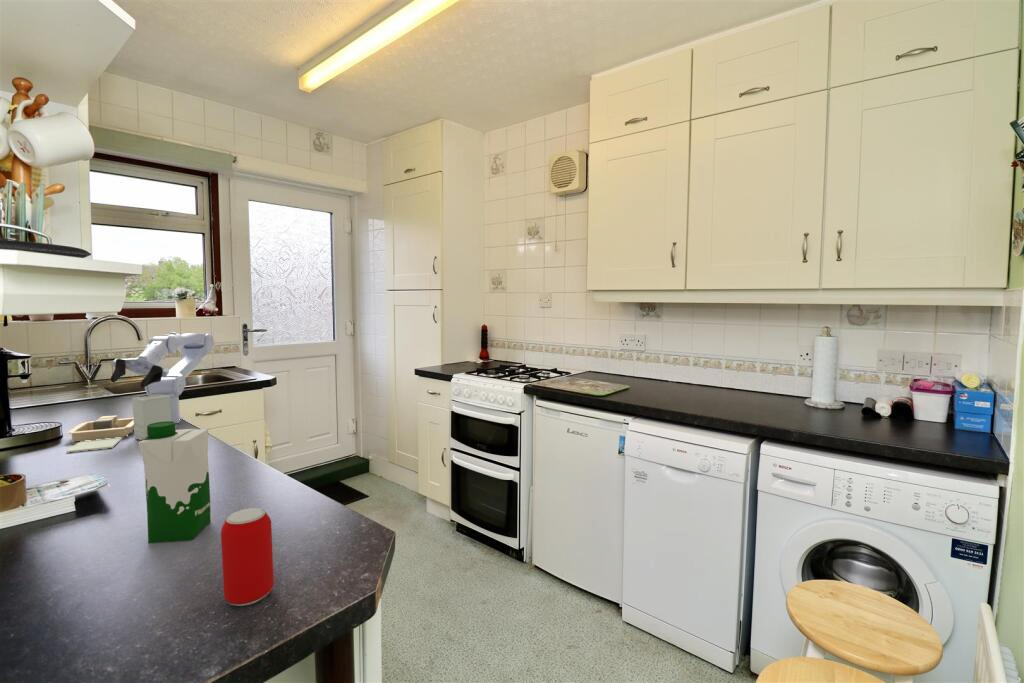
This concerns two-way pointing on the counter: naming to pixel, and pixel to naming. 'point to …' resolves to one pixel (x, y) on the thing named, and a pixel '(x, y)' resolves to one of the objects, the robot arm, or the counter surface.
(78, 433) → the wooden tray
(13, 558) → the counter surface
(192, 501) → the milk carton
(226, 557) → the beverage can
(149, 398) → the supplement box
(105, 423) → the block
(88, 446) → the tile
